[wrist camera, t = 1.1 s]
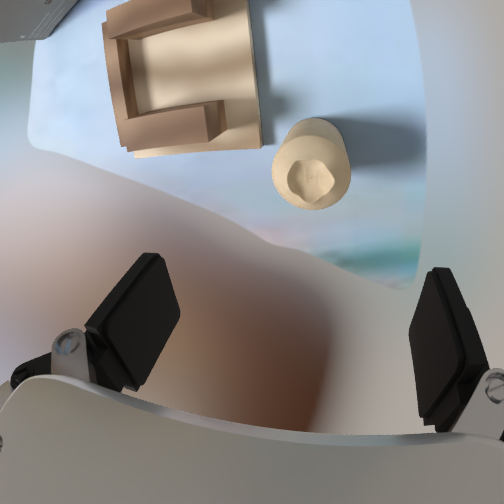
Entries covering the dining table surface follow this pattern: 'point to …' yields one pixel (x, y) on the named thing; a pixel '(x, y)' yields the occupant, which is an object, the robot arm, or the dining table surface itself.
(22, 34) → the skincare box
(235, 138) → the holder
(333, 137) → the candle
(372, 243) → the dining table surface
